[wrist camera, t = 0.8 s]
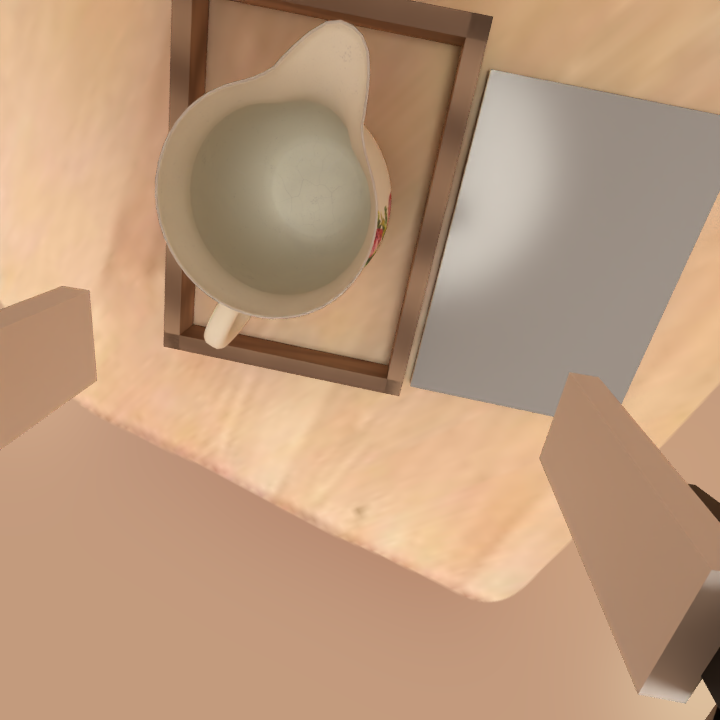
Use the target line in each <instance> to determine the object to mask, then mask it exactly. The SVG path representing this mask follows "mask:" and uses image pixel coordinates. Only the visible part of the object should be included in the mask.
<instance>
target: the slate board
mask: <svg viewBox="0 0 720 720" xmlns="http://www.w3.org/2000/svg"><path fill="white" fill-rule="evenodd" d="M719 191H720V115H717V114H712V113H707V112H702V111H697V110H692V109H687V108H682V107H677V106H672V105H667V104H662V103H657V102H652V101H647V100H642V99H637V98H632V97H627V96H622V95H617V94H612V93H607V92H602V91H597V90H592V89H587V88H582V87H577V86H572V85H567V84H562V83H557V82H552V81H547V80H542V79H537V78H532V77H527V76H522V75H517V74H512V73H507V72H502V71H497V70H492V69H491V70H490V71H489V74H488V78H487V82H486V86H485V90H484V94H483V98H482V102H481V106H480V110H479V113H478V117H477V121H476V125H475V129H474V133H473V137H472V141H471V145H470V149H469V153H468V157H467V161H466V165H465V169H464V172H463V176H462V180H461V184H460V188H459V192H458V196H457V200H456V204H455V208H454V212H453V216H452V220H451V224H450V227H449V231H448V235H447V239H446V243H445V247H444V251H443V255H442V259H441V263H440V267H439V271H438V275H437V279H436V283H435V286H434V290H433V294H432V298H431V302H430V306H429V310H428V314H427V318H426V322H425V326H424V330H423V334H422V338H421V341H420V345H419V349H418V353H417V357H416V361H415V365H414V369H413V373H412V377H411V381H410V386H411V387H416V388H421V389H425V390H430V391H435V392H439V393H444V394H449V395H454V396H458V397H463V398H468V399H473V400H477V401H482V402H487V403H492V404H496V405H501V406H506V407H511V408H515V409H520V410H525V411H530V412H534V413H539V414H544V415H549V416H553V417H554V415H555V412H556V409H557V406H558V404H559V401H560V398H561V395H562V392H563V389H564V387H565V384H566V381H567V378H568V375H569V372H571V373H577V374H583V375H589V376H594V377H599V378H600V380H601V381H602V382H603V383H604V384H605V386H606V387H607V388H608V389H609V390H610V392H611V393H612V394H613V395H614V396H615V398H616V399H617V400H618V401H619V402H620V404H622V402H623V399H624V397H625V395H626V393H627V391H628V389H629V386H630V384H631V382H632V380H633V378H634V376H635V373H636V371H637V369H638V367H639V365H640V363H641V360H642V358H643V356H644V354H645V352H646V350H647V347H648V345H649V343H650V341H651V339H652V336H653V334H654V332H655V330H656V328H657V326H658V323H659V321H660V319H661V317H662V315H663V313H664V310H665V308H666V306H667V304H668V302H669V300H670V297H671V295H672V293H673V291H674V289H675V287H676V284H677V282H678V280H679V278H680V276H681V274H682V271H683V269H684V267H685V265H686V263H687V260H688V258H689V256H690V254H691V252H692V250H693V247H694V245H695V243H696V241H697V239H698V237H699V234H700V232H701V230H702V228H703V226H704V224H705V221H706V219H707V217H708V215H709V213H710V211H711V208H712V206H713V204H714V202H715V200H716V198H717V195H718V193H719Z"/></svg>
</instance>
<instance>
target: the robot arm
mask: <svg viewBox="0 0 720 720" xmlns="http://www.w3.org/2000/svg"><path fill="white" fill-rule="evenodd" d="M95 381H97V373H96V361H95V350H94V338H93V326H92V314H91V303H90V291H89V290H83V289H77V288H71V287H65V286H61V287H58V288H56V289H53V290H51V291H48V292H45V293H43V294H40V295H37V296H35V297H32V298H29V299H27V300H24V301H22V302H19V303H16V304H14V305H11V306H8V307H6V308H3V309H1V310H0V450H1V449H2V448H4V447H5V446H6V445H8V444H9V443H11V442H12V441H13V440H15V439H16V438H18V437H19V436H20V435H22V434H23V433H25V432H26V431H27V430H29V429H30V428H31V427H33V426H34V425H36V424H37V423H38V422H40V421H41V420H43V419H44V418H45V417H47V416H48V415H50V414H51V413H52V412H54V411H55V410H56V409H58V408H59V407H61V406H62V405H63V404H65V403H66V402H67V401H69V400H70V399H72V398H73V397H75V396H76V395H77V394H79V393H80V392H81V391H83V390H84V389H86V388H87V387H88V386H90V385H91V384H93V383H94V382H95ZM539 459H540V461H541V464H542V466H543V468H544V471H545V473H546V476H547V478H548V480H549V483H550V485H551V487H552V490H553V492H554V495H555V497H556V499H557V502H558V504H559V507H560V509H561V511H562V514H563V516H564V519H565V521H566V523H567V526H568V528H569V531H570V533H571V535H572V538H573V540H574V543H575V545H576V547H577V550H578V552H579V555H580V557H581V559H582V562H583V564H584V567H585V569H586V571H587V574H588V576H589V578H590V581H591V583H592V586H593V588H594V590H595V593H596V595H597V598H598V600H599V602H600V605H601V607H602V610H603V612H604V614H605V617H606V619H607V622H608V624H609V626H610V629H611V631H612V633H613V636H614V638H615V641H616V643H617V646H618V648H619V650H620V653H621V655H622V658H623V660H624V662H625V665H626V667H627V669H628V672H629V674H630V676H631V679H632V681H633V684H634V686H635V688H636V691H637V693H638V695H643V696H649V697H654V698H659V699H664V700H669V701H675V702H680V703H686V702H687V701H688V699H689V698H690V696H691V695H692V693H693V692H694V690H695V689H696V687H697V686H698V684H699V683H700V681H701V680H702V679H703V680H704V682H705V684H706V686H707V688H708V690H709V691H710V693H711V695H712V697H713V699H714V700H715V702H716V705H715V706H714V708H713V709H712V711H711V712H710V714H709V715H708V716H707V718H706V719H705V720H720V503H719V502H717V501H716V500H715V499H713V498H712V497H711V496H710V495H708V494H707V493H705V492H704V491H703V490H701V489H700V488H699V487H697V486H696V485H691V484H687V483H686V482H685V480H684V479H683V478H682V477H681V475H680V474H679V473H678V472H677V471H676V469H675V468H674V467H673V466H672V465H671V464H670V462H669V461H668V460H667V459H666V457H665V456H664V455H663V454H662V453H661V451H660V450H659V449H658V448H657V447H656V445H655V444H654V443H653V442H652V441H651V439H650V438H649V437H648V436H647V435H646V433H645V432H644V431H643V430H642V429H641V428H640V426H639V425H638V424H637V423H636V422H635V420H634V419H633V418H632V417H631V416H630V414H629V413H628V412H627V411H626V410H625V408H624V407H623V406H622V405H621V404H620V402H619V401H618V400H617V399H616V398H615V396H614V395H613V394H612V393H611V392H610V390H609V389H608V388H607V387H606V386H605V384H604V383H603V382H602V381H601V380H600V378H599V377H594V376H589V375H583V374H577V373H571V372H569V375H568V378H567V381H566V384H565V387H564V389H563V392H562V395H561V398H560V401H559V404H558V406H557V409H556V412H555V415H554V418H553V421H552V423H551V426H550V429H549V432H548V435H547V438H546V441H545V443H544V446H543V449H542V452H541V455H540V458H539Z"/></svg>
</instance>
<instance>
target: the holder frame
mask: <svg viewBox="0 0 720 720" xmlns="http://www.w3.org/2000/svg"><path fill="white" fill-rule="evenodd" d="M231 1H236V2H241V3H246V4H251V5H256V6H261V7H266V8H271V9H276V10H281V11H286V12H291V13H296V14H301V15H306V16H311V17H316V18H321V19H326V20H331V21H333V20H343V21H345V22H347V23H350V24H352V25H356V26H361V27H366V28H371V29H376V30H381V31H386V32H391V33H396V34H401V35H406V36H411V37H416V38H421V39H426V40H431V41H436V42H441V43H446V44H451V45H456V46H462V49H461V53H460V58H459V62H458V66H457V71H456V75H455V79H454V84H453V88H452V92H451V97H450V101H449V105H448V110H447V114H446V118H445V123H444V127H443V131H442V136H441V140H440V144H439V149H438V153H437V157H436V162H435V166H434V170H433V175H432V179H431V183H430V188H429V192H428V196H427V201H426V205H425V209H424V214H423V218H422V222H421V227H420V231H419V235H418V240H417V244H416V248H415V253H414V257H413V261H412V266H411V270H410V274H409V279H408V283H407V287H406V292H405V296H404V300H403V305H402V309H401V313H400V318H399V322H398V326H397V331H396V335H395V339H394V344H393V348H392V352H391V357H390V361H389V365H388V366H387V365H383V364H378V363H373V362H368V361H364V360H359V359H354V358H349V357H344V356H340V355H335V354H330V353H325V352H321V351H316V350H311V349H306V348H302V347H297V346H292V345H287V344H283V343H278V342H273V341H268V340H264V339H259V338H254V337H249V336H245V335H240V334H237V336H236V337H235V338H234V339H233V340H232V341H231V342H230V343H229V344H228V345H227V346H226V347H224V348H222V349H216V348H214V347H212V346H210V345H209V344H207V343H206V341H205V339H204V332H205V329H206V327H202V326H197V325H193V316H194V296H195V284H194V283H193V282H192V281H191V280H190V279H189V278H188V277H187V275H186V274H185V273H184V271H183V270H182V269H181V268H180V266H179V265H178V263H177V262H176V260H175V258H174V257H173V255H172V253H171V252H170V250H169V248H168V245H167V243H166V268H165V310H164V347H169V348H173V349H178V350H183V351H188V352H192V353H197V354H202V355H207V356H211V357H216V358H221V359H225V360H230V361H235V362H240V363H244V364H249V365H254V366H259V367H263V368H268V369H273V370H278V371H282V372H287V373H292V374H296V375H301V376H306V377H311V378H315V379H320V380H325V381H330V382H334V383H339V384H344V385H349V386H353V387H358V388H363V389H367V390H372V391H377V392H382V393H386V394H391V395H396V396H399V395H400V391H401V387H402V383H403V379H404V375H405V371H406V367H407V363H408V359H409V355H410V351H411V347H412V343H413V339H414V335H415V331H416V327H417V322H418V318H419V314H420V310H421V306H422V302H423V298H424V294H425V290H426V286H427V282H428V278H429V274H430V270H431V266H432V262H433V258H434V254H435V250H436V246H437V242H438V238H439V234H440V230H441V226H442V221H443V217H444V213H445V209H446V205H447V201H448V197H449V193H450V189H451V185H452V181H453V177H454V173H455V169H456V165H457V161H458V157H459V153H460V149H461V145H462V141H463V137H464V133H465V129H466V124H467V120H468V116H469V112H470V108H471V104H472V100H473V96H474V92H475V88H476V84H477V80H478V76H479V72H480V68H481V64H482V60H483V56H484V52H485V48H486V44H487V40H488V36H489V32H490V28H491V23H492V19H493V17H492V16H487V15H482V14H477V13H472V12H467V11H462V10H457V9H451V8H446V7H441V6H436V5H431V4H426V3H421V2H416V1H411V0H231ZM208 12H209V0H172V17H171V59H170V100H169V132H170V130H171V129H172V127H173V125H174V124H175V122H176V121H177V119H178V118H179V117H180V116H181V115H182V113H183V112H184V111H185V110H186V109H187V108H188V107H189V106H190V105H191V104H192V103H193V102H195V101H196V100H197V99H198V98H200V97H201V96H203V95H204V93H205V73H206V53H207V33H208Z"/></svg>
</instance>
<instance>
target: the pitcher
mask: <svg viewBox="0 0 720 720" xmlns="http://www.w3.org/2000/svg"><path fill="white" fill-rule="evenodd" d="M369 81H370V61H369V49H368V47H367V44H366V42H365V39H364V36H363V34H362V33H361V32H360V31H359V30H358V29H357V28H356V27H355V26H354V25H352V24H350V23H347V22H345V21H343V20H333V21H325V22H324V23H322V24H321V25H319V26H317V27H316V28H314V29H312V30H311V31H309V32H308V33H306V34H305V35H304V36H303V37H302V38H301V39H300V40H298V41H297V42H296V43H295V44H294V45H293V46H292V47H291V48H290V49H289V50H288V51H287V52H286V53H285V54H284V55H283V56H282V57H281V58H280V59H279V60H278V61H277V62H276V63H275V65H274V66H273V67H271V68H269V69H268V70H266V71H264V72H262V73H260V74H258V75H255V76H253V77H250V78H246V79H243V80H239V81H235V82H232V83H228V84H225V85H222V86H220V87H218V88H215V89H213V90H211V91H209V92H207V93H206V94H204V95H203V96H201V97H200V98H198V99H197V100H196V101H195V102H193V103H192V104H191V105H190V106H189V107H188V108H187V109H186V110H185V111H184V112H183V113H182V115H181V116H180V117H179V118H178V119H177V121H176V122H175V124H174V125H173V127H172V129H171V130H170V132H169V133H168V136H167V138H166V140H165V142H164V145H163V147H162V150H161V154H160V157H159V160H158V165H157V171H156V177H155V200H156V210H157V215H158V220H159V224H160V227H161V230H162V233H163V236H164V239H165V241H166V243H167V245H168V248H169V250H170V252H171V253H172V255H173V257H174V258H175V260H176V262H177V263H178V265H179V266H180V268H181V269H182V270H183V271H184V273H185V274H186V275H187V277H188V278H189V279H190V280H191V281H192V282H193V283H194V284H195V285H196V286H197V287H198V288H199V289H201V290H202V291H203V292H204V293H205V294H207V295H208V296H209V297H211V298H212V299H214V300H215V301H217V302H218V304H217V306H216V307H215V309H214V311H213V313H212V315H211V317H210V319H209V321H208V324H207V326H206V329H205V332H204V339H205V341H206V343H207V344H209V345H210V346H212V347H214V348H216V349H222V348H224V347H226V346H227V345H228V344H229V343H230V342H231V341H232V340H233V339H234V338H235V337H236V336H237V334H238V333H239V332H240V331H241V330H242V328H243V327H244V326H245V325H246V323H247V322H248V320H249V319H250V318H251V316H254V317H258V318H267V319H287V318H293V317H299V316H302V315H306V314H309V313H312V312H314V311H317V310H319V309H321V308H323V307H325V306H326V305H328V304H330V303H331V302H333V301H334V300H336V299H337V298H338V297H339V296H341V295H342V294H343V293H344V292H345V291H346V290H347V289H348V288H349V287H350V286H351V285H352V284H353V283H354V281H355V280H356V279H357V277H358V276H359V274H360V273H361V271H362V270H363V268H364V267H365V266H366V265H367V264H368V263H369V261H370V260H371V258H372V257H373V256H374V254H375V253H376V251H377V249H378V247H379V246H380V244H381V242H382V240H383V237H384V234H385V231H386V229H387V225H388V221H389V216H390V209H391V185H390V178H389V173H388V169H387V166H386V162H385V159H384V157H383V155H382V152H381V150H380V148H379V146H378V144H377V143H376V141H375V139H374V137H373V136H372V135H371V133H370V132H369V131H368V129H367V128H366V127H365V125H364V120H365V115H366V108H367V101H368V93H369Z"/></svg>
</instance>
